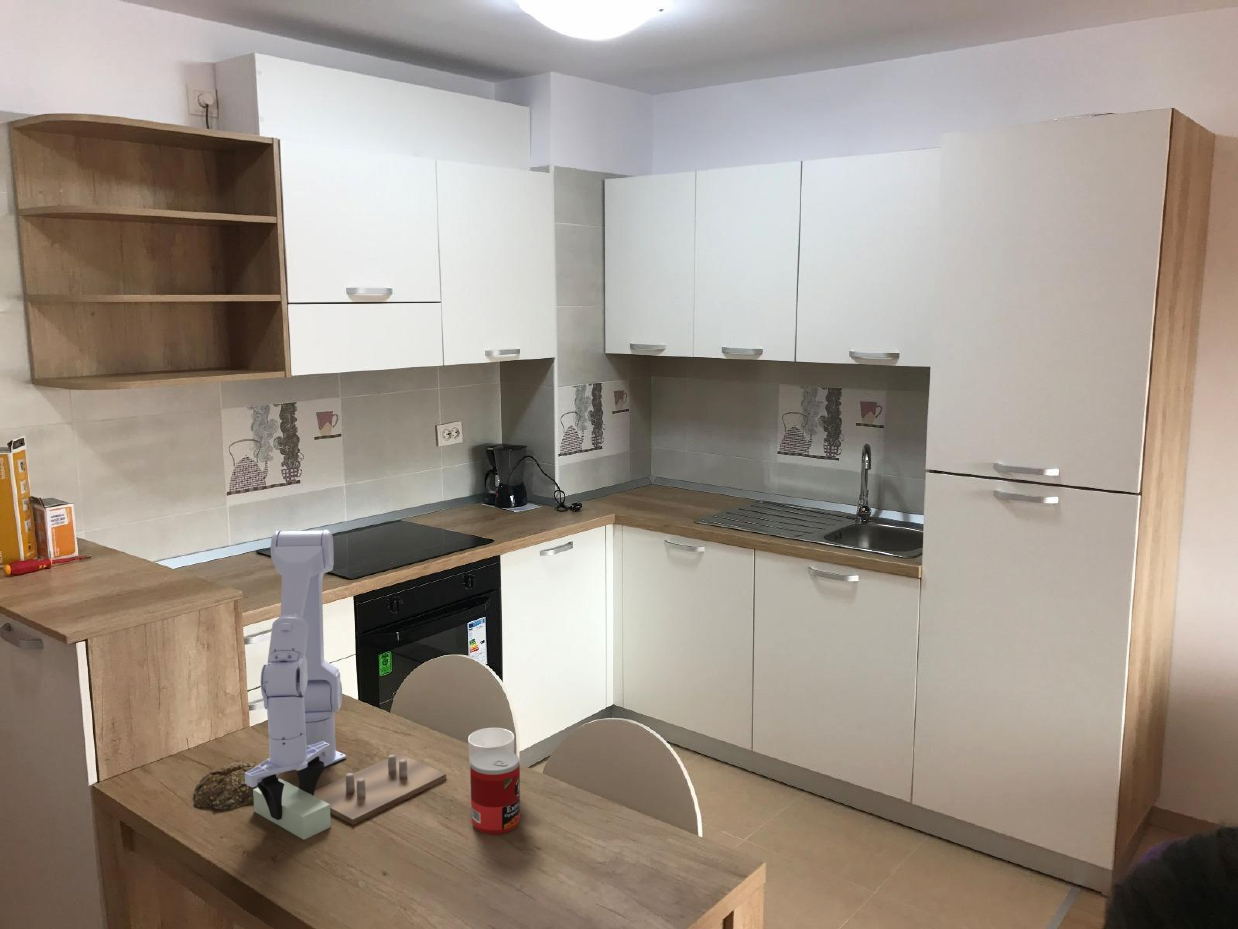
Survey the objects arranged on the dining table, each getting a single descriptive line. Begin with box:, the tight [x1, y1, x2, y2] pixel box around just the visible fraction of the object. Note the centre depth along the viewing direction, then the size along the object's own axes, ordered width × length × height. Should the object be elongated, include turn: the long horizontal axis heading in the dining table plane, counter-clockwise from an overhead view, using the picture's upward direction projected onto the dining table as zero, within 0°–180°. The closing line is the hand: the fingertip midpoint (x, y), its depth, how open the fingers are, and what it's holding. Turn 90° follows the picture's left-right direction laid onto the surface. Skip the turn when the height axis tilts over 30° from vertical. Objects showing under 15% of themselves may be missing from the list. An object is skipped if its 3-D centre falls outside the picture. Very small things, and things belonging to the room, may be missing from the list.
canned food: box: [469, 750, 521, 835], centre depth 160 cm, size 8×8×11 cm
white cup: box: [467, 727, 515, 764], centre depth 170 cm, size 8×8×10 cm
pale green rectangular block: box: [253, 778, 332, 841], centre depth 161 cm, size 14×5×4 cm, turn 52°
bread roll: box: [194, 761, 260, 811], centre depth 170 cm, size 13×12×5 cm
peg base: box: [313, 753, 447, 826], centre depth 171 cm, size 13×20×4 cm, turn 142°
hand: (291, 810), depth 161 cm, fingers closed on pale green rectangular block, 5 cm apart
